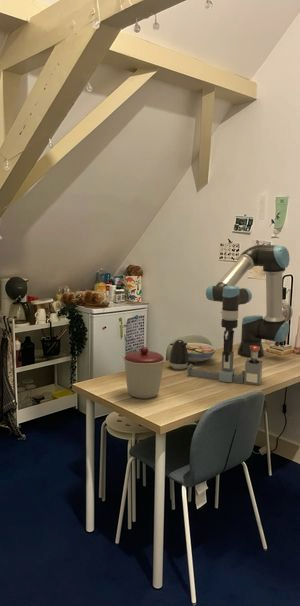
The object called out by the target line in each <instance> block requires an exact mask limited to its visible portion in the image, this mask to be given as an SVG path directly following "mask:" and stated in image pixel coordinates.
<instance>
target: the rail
mask: <svg viewBox="0 0 300 606" xmlns="http://www.w3.org/2000/svg"><path fill="white" fill-rule="evenodd" d="M186 370H187V374H186V376H187V377H188V378H189V377H194V378H200V379H201V378H202V379H207V380H208V379H209V380H213V381H214V380H215V381H219V372H220V371H213V370H206V369H205V370H204V369H197V368H193V364H192V363H190V364H189V365H187V369H186ZM244 377H245V370H242V371H241V373H240V374H237V373H235V374H233V376H232V383H236V384H237V383H238V384H241V385H243V384H244Z"/></svg>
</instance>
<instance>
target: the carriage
mask: <svg viewBox="0 0 300 606" xmlns="http://www.w3.org/2000/svg"><path fill="white" fill-rule="evenodd" d="M221 353H222V354H221V369H220V370H219V371H218V372H219V380H218V381H219V382H224V383H230V384H231V383H233V382H232V376H233V374H236V373H235V372H236V369H234V356H235V355H234V354H235V352H234V351H233V352H230V368H229V369H228V368H224V355H223V351H222V352H221Z"/></svg>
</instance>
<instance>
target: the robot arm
mask: <svg viewBox="0 0 300 606" xmlns="http://www.w3.org/2000/svg"><path fill="white" fill-rule="evenodd" d="M290 260H291V259H290V252H289V250H288V249H287V247H286V246H284V245H278V244H275V245H274V244H256V245H252V246H250V247H249V248H247V249H246V250H244V251H243V252H242V253H241V254H239V256H238V257H237V259H236V262H235V263H234V264H233V265H232V266H231V268H230V269H228V271H227V272H226V273H225V274H224V275H223V277H222V278H221V279H220V280H219V281H218V282H217V283H216V285H209V286H207V288H206V290H205V296H206V299H207V300H208V301H212V302H218V303H222V307H221V310H220V314H221V323H220V325H221V327H222V328H225V330H224V332H223V336H222V337H223V351H222V352H223V355H224V368H228V369H229V368H230V352H234V351H233V350H234V335H235V330H234V329H237V328H238V323H239V321H238V319H239V305H246V304H247V303H250V302H251V300H252V298H253V295H252V291H251V290H250V289H249V288H247V287H246V288H244V287H241V288H240V287H239V286H238V285H237V284H238V283H239V282H240V280H241V279H242V277H244V276H245V275H246V273H247V272H248V271H250V270H252V269H253V268H254V267H262V271H263V272H264V273H265V285H266V286H265V297H266V298H265V300H266V301H265V304H266V307H265V308H266V312H265V313H266V315H264V316H263V315H255V314H254V315H247V316H244V317H242V322H241V334H240V339H241V340H240V344H239V345H238V348H237V354H236V355H238V356H241V357H244V358H248V359H251V350H250V346H251V345H256V346H260V350H258V359H259V358H263V357H264V356H265V352H264V347H263V344H262V342H263V341H262V340H264V341H269V342H274V343H282V342H284V341H285V340H286V339H287V337H288V335H289V332H290V323H289V322H288V321H286V317H285V315H283V273H284V272H286V269H287V268H288V267H289V265H290Z"/></svg>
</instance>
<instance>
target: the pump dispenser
mask: <svg viewBox="0 0 300 606" xmlns="http://www.w3.org/2000/svg"><path fill="white" fill-rule="evenodd" d="M173 343H174V344H173V345H171V346H172V347H171V350H170V353H169V359H168V362H169V364H170V366H171V368H172V369H175V370H184V369H186V368H188V366H189V365H188V364H189V363H190V361H189V356H188V351H187V347H186V345H187V343H188V342H185V341H184V340H182V339H177V340H175V341H174V342H173Z"/></svg>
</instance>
